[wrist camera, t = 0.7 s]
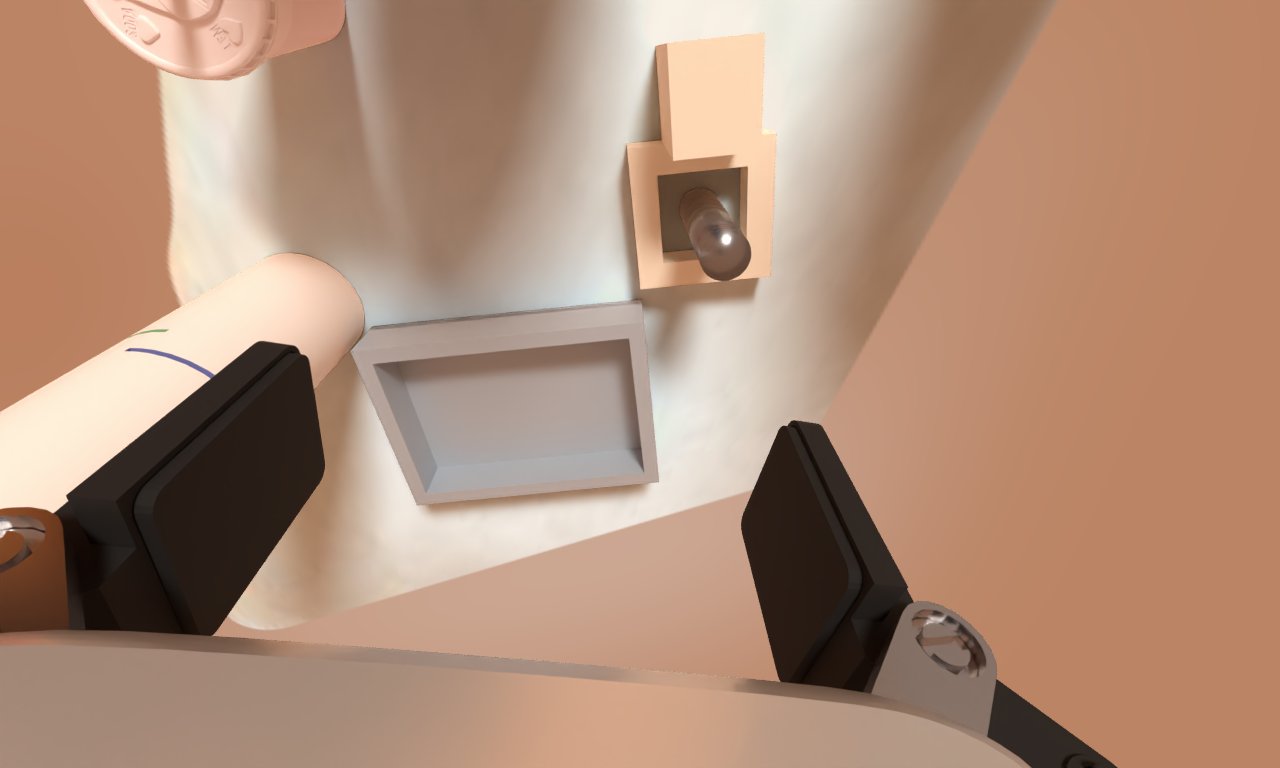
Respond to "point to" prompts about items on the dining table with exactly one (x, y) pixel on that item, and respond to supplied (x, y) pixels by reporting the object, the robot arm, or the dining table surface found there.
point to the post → (714, 235)
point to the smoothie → (217, 31)
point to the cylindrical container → (169, 372)
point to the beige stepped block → (706, 149)
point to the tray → (515, 401)
